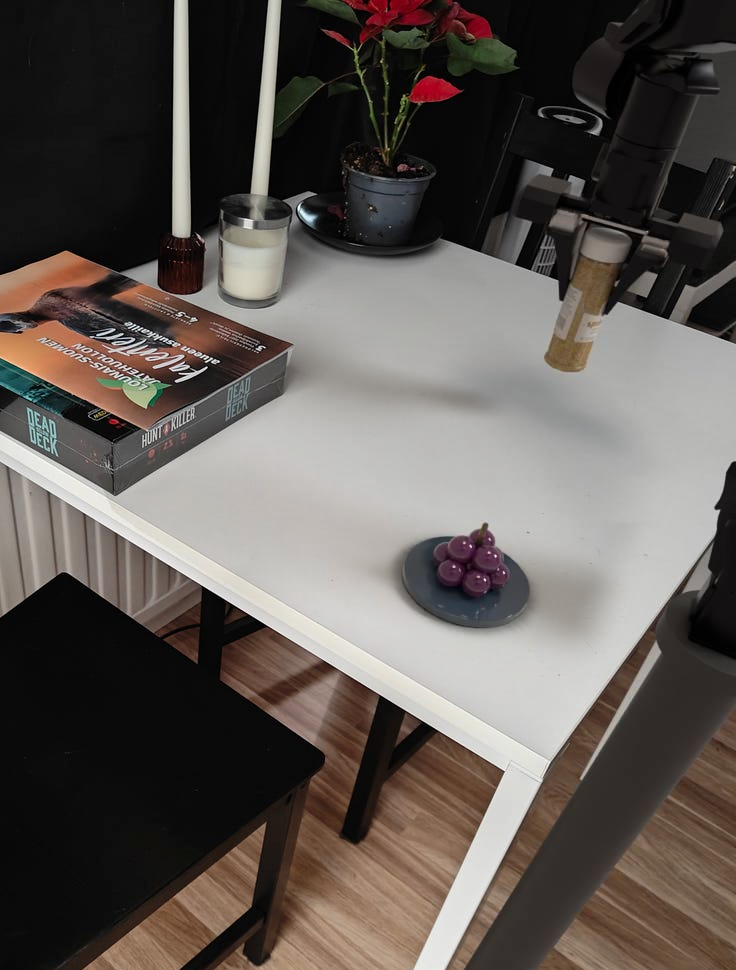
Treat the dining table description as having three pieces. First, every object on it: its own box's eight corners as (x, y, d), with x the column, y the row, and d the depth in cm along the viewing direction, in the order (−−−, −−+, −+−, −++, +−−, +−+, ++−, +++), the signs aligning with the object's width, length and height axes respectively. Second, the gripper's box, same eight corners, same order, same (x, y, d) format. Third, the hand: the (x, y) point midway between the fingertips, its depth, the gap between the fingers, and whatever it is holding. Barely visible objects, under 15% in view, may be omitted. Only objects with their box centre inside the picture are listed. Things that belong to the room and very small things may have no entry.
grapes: (541, 572, 80) (567, 513, 76) (506, 646, 73) (532, 586, 68) (427, 527, 83) (445, 467, 78) (383, 594, 76) (400, 532, 71)
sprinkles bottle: (584, 377, 94) (633, 247, 84) (540, 368, 94) (584, 237, 85) (586, 359, 97) (633, 231, 88) (544, 350, 98) (586, 222, 88)
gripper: (762, 144, 83) (688, 306, 94) (567, 97, 88) (518, 256, 99) (749, 174, 76) (670, 346, 87) (537, 120, 81) (488, 289, 92)
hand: (584, 306), depth 91 cm, fingers closed on sprinkles bottle, 4 cm apart
